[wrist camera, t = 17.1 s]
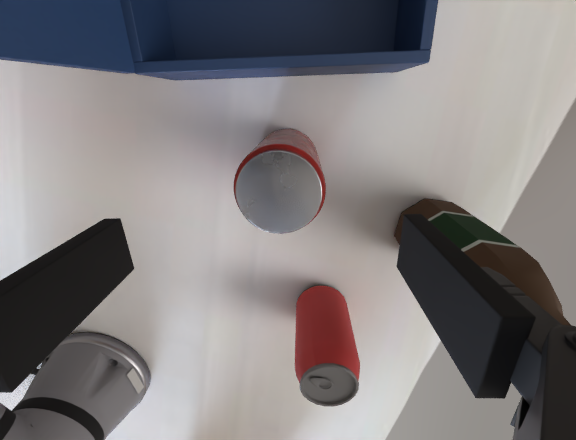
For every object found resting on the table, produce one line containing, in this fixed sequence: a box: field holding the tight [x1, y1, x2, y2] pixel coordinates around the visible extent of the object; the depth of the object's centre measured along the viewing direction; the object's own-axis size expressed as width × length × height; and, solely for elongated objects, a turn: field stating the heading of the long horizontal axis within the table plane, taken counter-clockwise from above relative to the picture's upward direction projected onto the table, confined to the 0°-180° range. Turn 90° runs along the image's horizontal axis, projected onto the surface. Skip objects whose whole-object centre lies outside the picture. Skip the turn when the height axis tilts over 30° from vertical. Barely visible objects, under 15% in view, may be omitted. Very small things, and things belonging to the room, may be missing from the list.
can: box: [234, 129, 326, 234], centre depth 25 cm, size 7×7×12 cm
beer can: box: [295, 286, 360, 406], centre depth 32 cm, size 7×7×12 cm
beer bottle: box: [394, 198, 570, 325], centre depth 22 cm, size 8×8×24 cm
